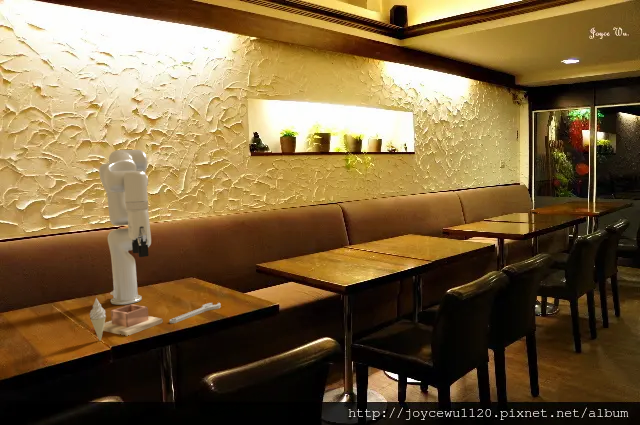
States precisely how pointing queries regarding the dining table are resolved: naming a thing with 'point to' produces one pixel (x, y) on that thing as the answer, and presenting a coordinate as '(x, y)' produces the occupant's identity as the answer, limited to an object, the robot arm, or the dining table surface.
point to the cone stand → (130, 320)
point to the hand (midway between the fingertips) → (140, 254)
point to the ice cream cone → (98, 318)
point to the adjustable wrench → (195, 312)
